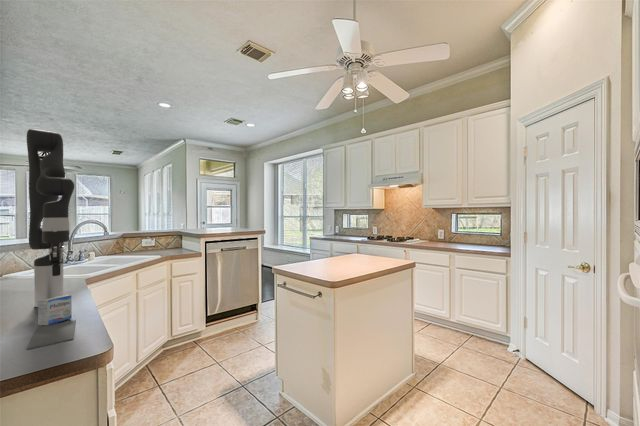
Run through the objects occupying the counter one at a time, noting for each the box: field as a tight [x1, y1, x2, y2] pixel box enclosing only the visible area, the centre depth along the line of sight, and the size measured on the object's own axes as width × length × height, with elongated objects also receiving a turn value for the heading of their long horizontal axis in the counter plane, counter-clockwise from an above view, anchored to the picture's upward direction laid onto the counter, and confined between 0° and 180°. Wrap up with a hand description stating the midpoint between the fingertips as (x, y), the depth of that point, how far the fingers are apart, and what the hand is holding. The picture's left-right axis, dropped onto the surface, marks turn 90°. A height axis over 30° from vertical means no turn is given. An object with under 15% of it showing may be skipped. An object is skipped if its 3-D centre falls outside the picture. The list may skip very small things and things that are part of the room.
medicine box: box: [37, 294, 73, 326], centre depth 101 cm, size 8×4×9 cm, turn 169°
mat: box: [26, 319, 76, 351], centre depth 91 cm, size 20×10×1 cm, turn 40°
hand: (56, 275), depth 106 cm, fingers closed
